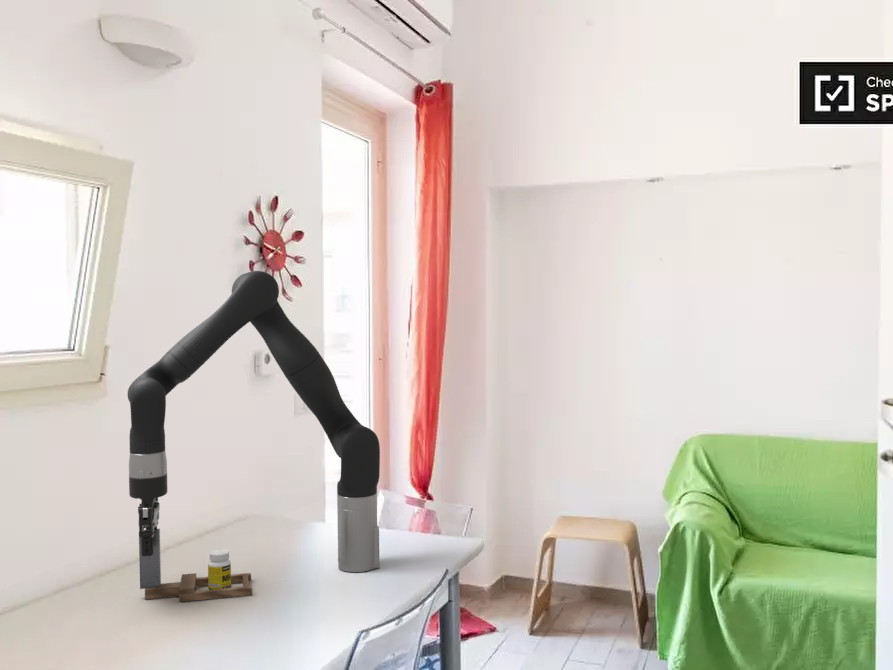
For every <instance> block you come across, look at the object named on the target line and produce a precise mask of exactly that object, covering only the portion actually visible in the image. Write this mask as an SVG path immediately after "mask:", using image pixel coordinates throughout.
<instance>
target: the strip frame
mask: <svg viewBox="0 0 893 670" xmlns="http://www.w3.org/2000/svg"><path fill="white" fill-rule="evenodd" d="M144 531H150V529H148V530H146V529H144ZM138 545H139V546H138V549H139V551H138V553H139V555H138V556H139V558H138V560H139V589H140V590H143V589H144V599H145V600H149V599H150V600H151V599H152V600H153V599H162V598H163V599H164V598H173V597H178V598H179V599H178V601H179V603H181V602H190V601H200V600H202V601H203V600H211V599H214V600H215V599H223V598H233V597H246V596H253V592H252V591H253V589H252V588H253V587H252V585H250V583H249V582H252V573H251V572H246V573H245V572H244V573H235V574H231V584H237V583H242V586H235V587H231V588H224V589H213V590H208V589H204V590H203V589H202V590H197V587H202V586H208V576H201V577H199V576H197V572H196V573H195V572H194V573H184V574H181V577H180V581H177V582H165V583H162V571H161V569H162V568H161V566H162V565H161V563H162V561H161V528H157V529H154V536H153V555H152V556H142V544H141V538H140V537H139V536H138Z"/></svg>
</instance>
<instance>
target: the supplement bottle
mask: <svg viewBox="0 0 893 670" xmlns="http://www.w3.org/2000/svg"><path fill="white" fill-rule="evenodd" d="M229 558H230V551H229V550H228V549H216V550H213V551H210V552H209V560H210V561H209V562H208V564H207V577H208V585H207V587H208V588H207V590H213V589H224V588H232V583H231V575H232V562H231V560H230V559H229Z"/></svg>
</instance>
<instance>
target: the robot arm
mask: <svg viewBox="0 0 893 670" xmlns="http://www.w3.org/2000/svg"><path fill="white" fill-rule="evenodd" d="M279 296H280V287H279V284H278V282H277V280H276V278H275V277H274V276H273V275H271V274H270V273H268V272H266V271H263V270H253V271H248V272H245V273H242V274H240V275H239V276H238V277H237V278H236V279H235V280H234V281H233V284H232V286H231V294H230V295H229V297H228V298H227V299H226V301H224V303H223V304H221V306H219V308H217V310H216V311H214V312H213V313H212V314H211V315H210V316H209V317H208V318H206V319H204V320H203V321H202V322H201V323H199V324H198V325H197V326H196V327H194V328H193V329H191V331H189V332H187V333H186V335H185V336H183V337H182V338H181V339H180V340H178V342H176V343H175V344H174V345H173V346H172V347H171V348H170V349H168V350H167V352H166V353H165V354H164V355H163V356H162V357H161V358H160V359H159V360H158V361H156V362H155V363H154V364H152V365H151V366H150V367H149V368H147V369H146V370H145V371H144V372H143V373H141V374H140V375H139V376H138V377H136V378H135V380H133V381H132V382H131V384H130V385H129V387H128V389H127V399H128V402H129V406H130V421H131V422H130V423H131V427H130V429H129V438H128V439H129V458H128V484H129V485H128V487H129V488H128V493H129V494H128V495H129V497H130V498H132V499H135V500H137V499H140V500H141V503H139V505H138V506H137V514H138V538H139V537H140V538H141V544H142V556H152V555H153V536H154V529H158V524H159V519H160V504H161V503H160V502H159V498H160V497H161V498H162V497H164V496H166V495H167V494H168V461H167V460H168V459H167V454H166V433H165V431H166V430H165V420H166V407H167V398H166V396H168V394H169V393H170V392H172V391H173V389H175V388H176V387H177V386H178V385H179V384H181V383H184V382H185V381H187V380H188V379H189V378H190V377H192V375H194V374H195V373H196V372H197V370H199V369H200V368H201V367H202V366H203V365H204V364H205V363H206V362H208V360H209V359H210V358H211V357H212V356H213V355H214V354H216V352H217V351H218V350H219V349H220V348H221V347H223V345H225V343H226V342H227V341H229V339H231V337H233V335H235V334H236V333H238V332H239V331H240V330H241V329H242V328H243V327H244V326H246V325H247V324H249V323H251V325H252V326H253V327H254V328H255V329H256V331H257V332H258V333H259V335H260V336H261V338H262V339H263V341H264V343H265V345H266V347H267V348H268V350H269V352H270V353H271V355H272V357H273V359H274V361H275V362H276V364H277V365H278V367H279V368H280V370H281V371H282V373H283V375H284V377H285V378H286V379H287V381H288V383H289V384H290V386H291V387H292V388H293V390H294V391H295V392H296V394H297V395H298V397H299V398H300V399H301V400H302V401H303V403H304V405H305V406H306V407H307V408H308V409H309V410H310V411H311V413H312V415H314V416H315V418H316V420H318V422H319V424H320V426H321V427H322V429H323V431H324V433H325V434H326V436H327V438H328V440H329V443H330V445H331V447H332V448H333V450H334V453H336V455H337V456H338V457H339V459H340V478H339V480H338V481H337V486H336V493H337V495H336V497H337V499H336V501H337V502H336V503H337V505H336V506H337V511H336V512H337V513H336V514H337V566H338V569H339V570H340V571H343V572H347V573H349V572H350V573H363V572H369V571H372V570H374V569H379V568H380V527H379V525H378V484H379V481H380V474H381V473H380V471H381V470H380V467H381V465H380V464H381V461H380V460H381V450H380V449H381V448H380V446H381V445H380V442H379V440H380V439H379V438H378V435H377V433H375V432H374V431H373V430H372V429H370V428H369V427H367V426H365V425H362V423H361V422H360V421H358V419H357V418H356V417H355V415H354V414H353V413H352V411H350V409H349V407H348V406H347V405H346V403H345V402H344V400H343V398H342V395H341V394H340V390H339V388H338V385H337V382H336V380H335V377H334V376H333V374H332V371H331V369H330V368H329V366H328V364H327V363H326V361H325V359H324V358H323V357H322V355H321V353H320V352H319V351H318V349H317V348H316V347H315V346H314V344H313V343H312V342H311V341H310V340H309V339H308V338H307V337H306V336H305V335H304V334H303V333H302V332H301V330H299V329H298V328H297V327H296V326H295V324H294V323H293V322H291V320H290V319H289V318H288V316H287V314H286V312H285V311H284V310H283V308H282V307H281V305H280V303H279V301H278V299H279ZM148 529H150V531H144V530H148Z"/></svg>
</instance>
